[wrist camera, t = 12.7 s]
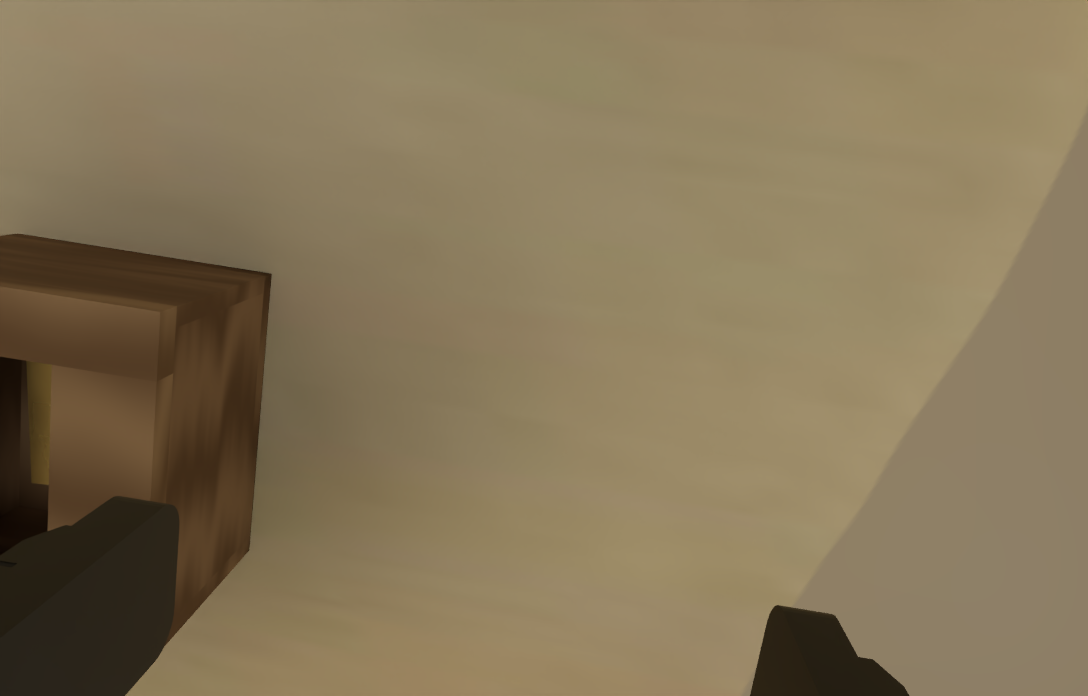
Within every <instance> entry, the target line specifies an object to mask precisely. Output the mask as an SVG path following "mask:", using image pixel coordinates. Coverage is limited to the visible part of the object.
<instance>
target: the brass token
mask: <svg viewBox="0 0 1088 696" xmlns="http://www.w3.org/2000/svg"><path fill="white" fill-rule="evenodd" d="M26 365H27V389H28V412H29V436H30V459H31V483H36V484H45V485H49V454H50V414H51V373H52V365H50V364H43V363H37V362H31V361H26Z"/></svg>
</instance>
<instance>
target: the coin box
mask: <svg viewBox="0 0 1088 696" xmlns="http://www.w3.org/2000/svg"><path fill="white" fill-rule="evenodd" d="M270 286H271V274H269V273H263V272H257V271H250V270H244V269H238V268H231V267H225V266H219V265H212V264H206V263H200V262H194V261H187V260H181V259H175V258H168V257H162V256H156V255H149V254H143V253H137V252H130V251H124V250H118V249H111V248H105V247H99V246H93V245H86V244H80V243H74V242H67V241H61V240H55V239H48V238H42V237H36V236H29V235H23V234H12V235H3V236H0V555H2V554H3V553H5V552H6V551H8V550H9V549H11V548H12V547H14V546H15V545H17V544H18V543H20V542H21V541H23V540H24V539H27V538H30V537H33V536H35V535H38V534H41V533H44V532H47V531H50V530H52V529H55V528H58V527H61V526H64V525H69V526H72V525H73V524H75V523H76V522H77V521H79V520H80V519H82V518H83V517H85V516H86V515H87V514H89V513H90V512H92V511H93V510H95V509H96V508H97V507H99V506H100V505H102V504H103V503H105V502H106V501H108V500H109V499H110V498H112V497H115V496H123V497H129V498H135V499H141V500H147V501H153V502H159V503H166V504H172V505H174V506H175V507H176V508H177V511H178V514H179V521H180V522H179V542H178V559H177V575H176V591H175V608H174V616H173V622H172V626H171V629H170V633H169V636H168V638H167V641H166V643H165V645H166V644H167V643H168V642H169V641H170V639H171V638H172V637H173V636H174V635H175V634H176V633H177V631H178V630H179V629H180V628H181V627H182V626H183V625H184V624H185V622H186V621H187V620H188V619H189V618H190V617H191V616H192V614H193V613H194V612H195V611H196V610H197V609H198V608H199V607H200V605H201V604H202V603H203V602H204V601H205V600H206V599H207V597H208V596H209V595H210V594H211V593H212V592H213V591H214V590H215V588H216V587H217V586H218V585H219V584H220V583H221V582H222V580H223V579H224V578H225V577H226V576H227V575H228V574H229V573H230V571H231V570H232V569H233V568H234V567H235V566H236V565H237V563H238V562H239V561H240V560H241V559H242V558H243V557H244V556H245V554H246V553H247V552H248V551H249V545H250V532H251V520H252V508H253V495H254V483H255V471H256V458H257V446H258V434H259V421H260V409H261V397H262V384H263V372H264V360H265V347H266V335H267V323H268V310H269V298H270ZM26 361H31V362H37V363H43V364H50V365H52V373H51V414H50V454H49V485H45V484H36V483H31V459H30V436H29V412H28V389H27V365H26ZM165 645H164V646H165Z"/></svg>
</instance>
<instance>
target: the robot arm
mask: <svg viewBox="0 0 1088 696" xmlns="http://www.w3.org/2000/svg"><path fill="white" fill-rule="evenodd" d="M179 522H180V521H179V514H178V511H177V508H176V507H175V506H174V505H172V504H166V503H159V502H153V501H147V500H141V499H135V498H129V497H123V496H115V497H112V498H110V499H109V500H108V501H106V502H105V503H103V504H102V505H100V506H99V507H97V508H96V509H95V510H93V511H92V512H90V513H89V514H87V515H86V516H85V517H83V518H82V519H80V520H79V521H77V522H76V523H75V524H73V525H72V526H69V525H64V526H61V527H58V528H55V529H52V530H50V531H47V532H44V533H41V534H38V535H35V536H33V537H30V538H27V539H24V540H23V541H21V542H20V543H18V544H17V545H15V546H14V547H12V548H11V549H9V550H8V551H6V552H5V553H3V554H2V555H0V696H125V695H126V694H127V693H128V691H129V690H130V689H131V688H132V687H133V686H134V685H135V683H136V682H137V681H138V680H139V679H140V678H141V677H142V675H143V674H144V673H145V672H146V671H147V670H148V669H149V667H150V666H151V665H152V664H153V663H154V662H155V660H156V659H157V658H158V656H159V655H160V653H161V651H162V649H163V648H164V645H165V643H166V641H167V638H168V636H169V633H170V629H171V626H172V622H173V616H174V608H175V591H176V575H177V559H178V542H179ZM750 696H909V694H908V693H907V691H906V689H905V688H904V686H903V685H902V684H900V683H899V682H898V681H897V680H896V679H895V678H893V677H892V676H891V675H890V674H889V673H888V672H887V671H885V670H884V669H883V668H882V667H881V666H880V665H879V664H878V663H876V662H875V661H874V660H873V659H867V658H860V657H858V656H857V654H856V652H855V651H854V649H853V647H852V645H851V643H850V641H849V640H848V638H847V636H846V634H845V632H844V630H843V628H842V627H841V625H840V623H839V621H838V619H837V618H836V616H834V615H832V614H828V613H822V612H816V611H809V610H803V609H798V608H791V607H785V606H779V605H777V606H775V607H774V608H773V609H772V611H771V613H770V615H769V618H768V621H767V625H766V629H765V633H764V638H763V642H762V646H761V651H760V655H759V659H758V664H757V668H756V672H755V677H754V681H753V686H752V690H751V694H750Z"/></svg>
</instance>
